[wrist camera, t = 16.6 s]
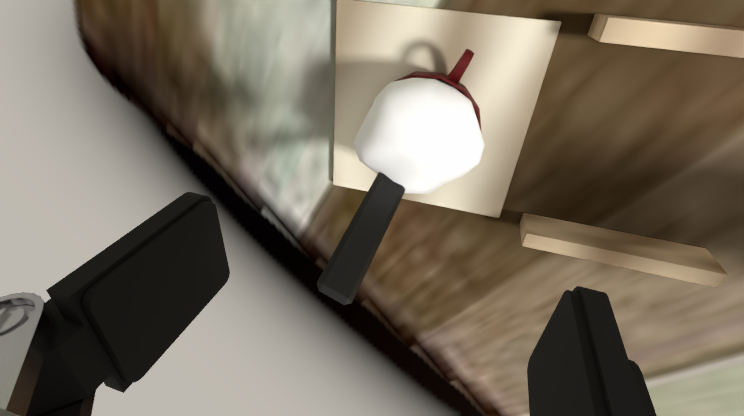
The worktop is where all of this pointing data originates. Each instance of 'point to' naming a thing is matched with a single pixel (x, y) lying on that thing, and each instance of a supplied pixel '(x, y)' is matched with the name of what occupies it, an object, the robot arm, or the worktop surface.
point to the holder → (621, 245)
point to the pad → (440, 54)
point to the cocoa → (405, 161)
